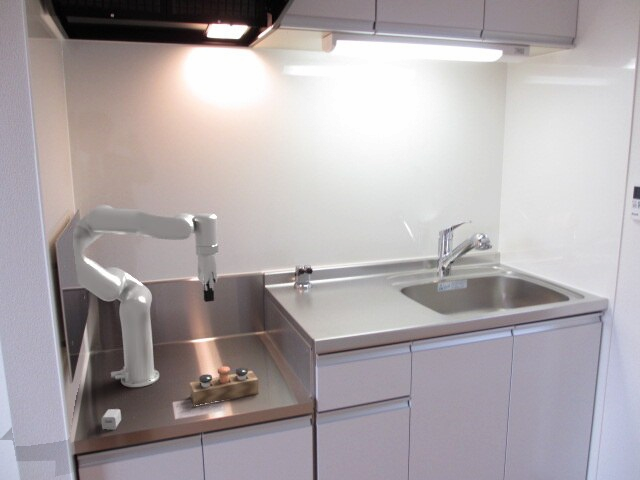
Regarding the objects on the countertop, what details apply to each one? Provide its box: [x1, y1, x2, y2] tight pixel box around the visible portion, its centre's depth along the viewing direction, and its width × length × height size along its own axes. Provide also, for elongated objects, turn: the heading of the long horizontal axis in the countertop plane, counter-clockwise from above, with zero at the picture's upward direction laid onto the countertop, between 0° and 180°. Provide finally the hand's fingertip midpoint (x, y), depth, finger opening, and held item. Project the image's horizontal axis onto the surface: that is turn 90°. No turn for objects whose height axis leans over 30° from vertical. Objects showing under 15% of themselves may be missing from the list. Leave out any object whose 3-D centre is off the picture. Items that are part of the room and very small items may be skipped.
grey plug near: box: [198, 374, 213, 388], centre depth 165 cm, size 4×4×7 cm
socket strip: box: [189, 370, 259, 407], centre depth 168 cm, size 21×7×5 cm, turn 115°
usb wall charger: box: [101, 408, 122, 430], centre depth 151 cm, size 4×7×4 cm, turn 2°
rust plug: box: [217, 366, 231, 384], centre depth 167 cm, size 4×4×7 cm
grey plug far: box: [235, 367, 249, 381], centre depth 170 cm, size 4×4×7 cm
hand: (209, 300), depth 179 cm, fingers closed
